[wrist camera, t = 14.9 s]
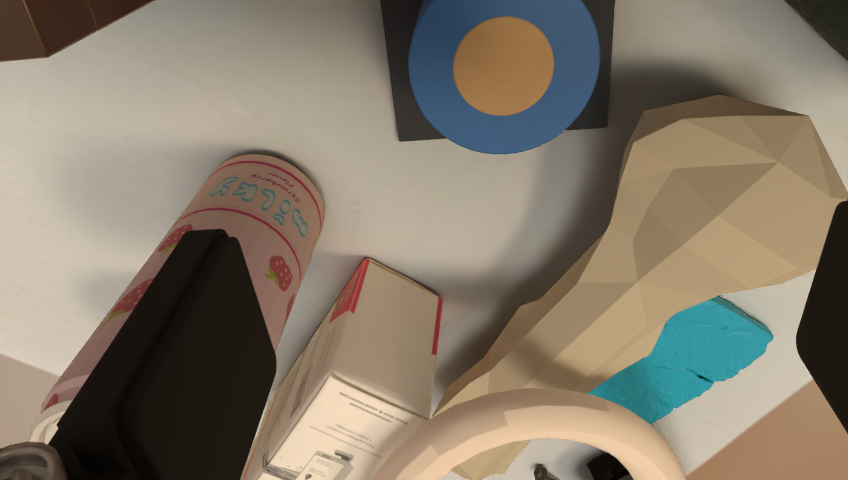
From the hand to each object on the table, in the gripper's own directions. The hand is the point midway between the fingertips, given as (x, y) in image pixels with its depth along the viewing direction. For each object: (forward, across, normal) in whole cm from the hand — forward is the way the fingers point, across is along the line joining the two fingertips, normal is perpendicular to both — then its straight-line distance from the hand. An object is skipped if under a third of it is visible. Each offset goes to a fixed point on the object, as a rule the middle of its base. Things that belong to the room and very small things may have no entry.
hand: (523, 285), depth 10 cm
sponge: (+16, -11, +22) cm, 29 cm away
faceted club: (+17, -3, +13) cm, 22 cm away
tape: (+17, 0, +1) cm, 17 cm away
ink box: (+13, +5, +12) cm, 19 cm away
